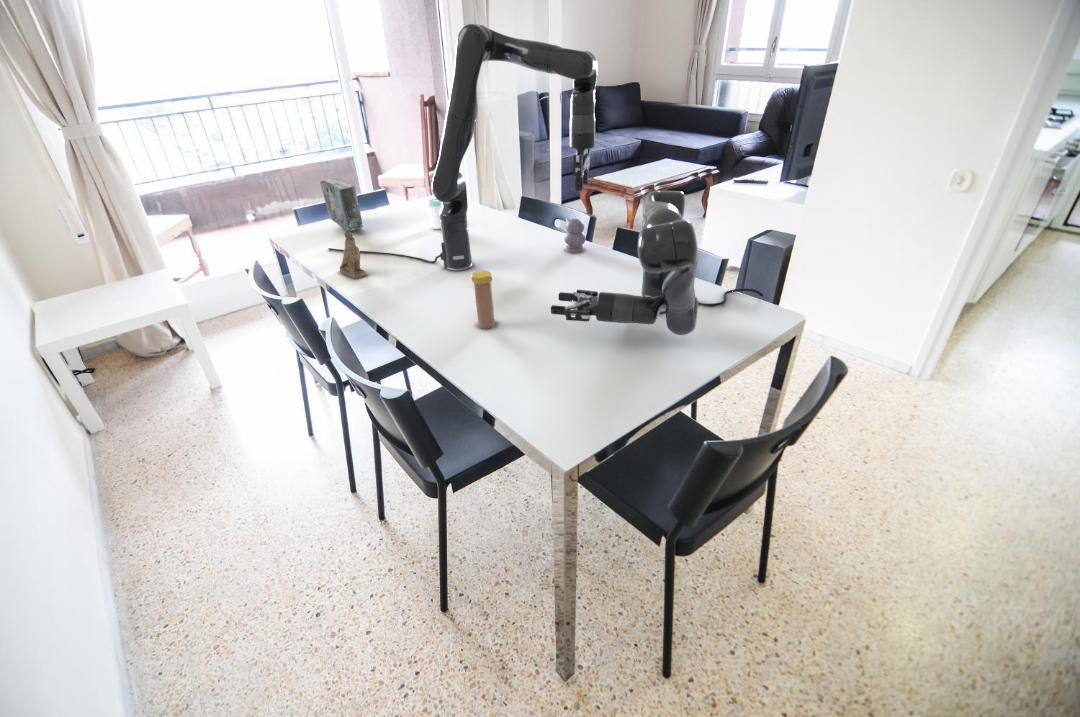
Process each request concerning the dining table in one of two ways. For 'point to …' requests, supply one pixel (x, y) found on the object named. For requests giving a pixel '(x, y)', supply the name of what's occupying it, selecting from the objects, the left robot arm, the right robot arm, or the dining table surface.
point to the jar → (484, 305)
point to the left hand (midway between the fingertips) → (581, 186)
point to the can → (434, 213)
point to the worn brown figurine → (351, 258)
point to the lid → (481, 277)
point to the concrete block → (342, 203)
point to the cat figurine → (574, 235)
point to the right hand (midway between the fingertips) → (555, 302)
